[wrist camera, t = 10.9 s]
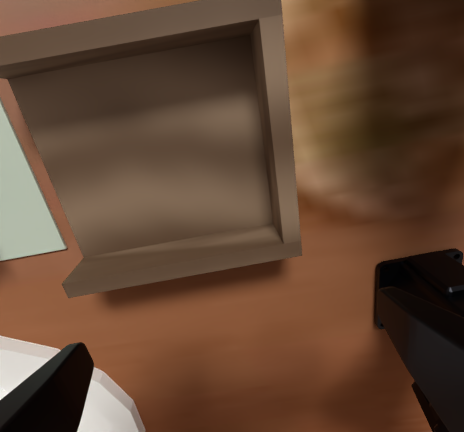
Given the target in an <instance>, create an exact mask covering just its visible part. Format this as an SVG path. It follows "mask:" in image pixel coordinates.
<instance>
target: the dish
mask: <svg viewBox="0 0 464 432" xmlns="http://www.w3.org/2000/svg"><path fill="white" fill-rule="evenodd" d="M60 351H61V350H59V349H57V348H53V347H48V346H44V345H39V344H35V343H30V342H26V341H21V340H17V339H12V338H7V337H3V336H0V400H1V399H2V398H3V397H5V396H6V395H7V394H8V393H9V392H11V391H12V390H13V389H14V388H16V387H17V386H18V385H19V384H20V383H22V382H23V381H24V380H25V379H27V378H28V377H29V376H30V375H32V374H33V373H34V372H35V371H36V370H38V369H39V368H40V367H41V366H43V365H44V364H45V363H46V362H47V361H49V360H50V359H51V358H52V357H54V356H55V355H56V354H57V353H58V352H60ZM77 432H145V427H144V425H143V423H142V420H141V418H140V415H139V413H138V410H137V408H136V405H135V403H134V400H133V399H132V398H131V397H129V396H128V395H127V394H126V393H125V392H124V391H123V390H122V389H121V388H120V387H119V386H118V385H117V384H116V383H115V382H114V381H113V380H112V379H111V378H110V377H109V376H108V375H107V374H106V373H105V372H103V371H101V370H99V369H97V368H95V367H94V370H93V374H92V378H91V382H90V386H89V390H88V394H87V398H86V402H85V406H84V410H83V414H82V417H81V421H80V424H79V428H78V431H77Z"/></svg>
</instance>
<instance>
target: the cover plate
mask: <svg viewBox="0 0 464 432" xmlns="http://www.w3.org/2000/svg"><path fill="white" fill-rule="evenodd" d="M66 248H67V246H66V244H65V241H64V239H63V237H62V235H61V232H60V230H59V228H58V226H57V223H56V221H55V219H54V217H53V214H52V212H51V210H50V208H49V205H48V203H47V201H46V199H45V197H44V194H43V192H42V190H41V188H40V185H39V183H38V181H37V179H36V176H35V174H34V172H33V170H32V167H31V165H30V163H29V161H28V159H27V156H26V154H25V152H24V150H23V147H22V145H21V143H20V141H19V138H18V136H17V134H16V132H15V129H14V127H13V125H12V123H11V120H10V118H9V116H8V114H7V112H6V109H5V107H4V105H3V103H2V100H1V98H0V261H2V260H8V259H13V258H19V257H24V256H29V255H35V254H40V253H46V252H51V251H57V250H62V249H66Z"/></svg>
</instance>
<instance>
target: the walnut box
mask: <svg viewBox="0 0 464 432" xmlns="http://www.w3.org/2000/svg"><path fill="white" fill-rule="evenodd" d="M0 78H3V79H8V81H9V84H10V86H11V88H12V91H13V93H14V95H15V98H16V100H17V102H18V105H19V107H20V110H21V112H22V114H23V117H24V119H25V121H26V124H27V126H28V128H29V131H30V133H31V135H32V138H33V140H34V142H35V145H36V147H37V149H38V152H39V154H40V156H41V159H42V161H43V163H44V166H45V168H46V170H47V173H48V175H49V177H50V180H51V182H52V184H53V187H54V189H55V191H56V194H57V196H58V198H59V201H60V203H61V205H62V208H63V210H64V212H65V215H66V217H67V219H68V222H69V224H70V226H71V229H72V231H73V233H74V236H75V238H76V240H77V243H78V245H79V247H80V250H81V252H82V254H83V257H84V258H83V259H82V260H81V262H80V263H79V264H78V265H77V266H76V268H75V269H74V270H73V271H72V272H71V274H70V275H69V276H68V277H67V278H66V280H65V281H64V282H63V283H62V286H63V288H64V290H65V292H66V294H67V296H68V298H71V297H77V296H82V295H88V294H93V293H99V292H104V291H110V290H115V289H121V288H126V287H132V286H137V285H143V284H148V283H154V282H159V281H165V280H170V279H176V278H181V277H187V276H192V275H198V274H203V273H209V272H215V271H220V270H226V269H231V268H237V267H242V266H248V265H253V264H259V263H264V262H270V261H275V260H281V259H286V258H292V257H297V256H302V248H301V236H300V224H299V212H298V200H297V188H296V176H295V163H294V151H293V139H292V127H291V115H290V103H289V91H288V78H287V66H286V54H285V42H284V30H283V18H282V5H281V0H200V1H194V2H189V3H183V4H178V5H172V6H167V7H161V8H156V9H150V10H145V11H139V12H134V13H128V14H123V15H117V16H112V17H106V18H101V19H95V20H90V21H84V22H79V23H73V24H68V25H62V26H57V27H51V28H45V29H40V30H34V31H29V32H23V33H18V34H12V35H7V36H1V37H0Z"/></svg>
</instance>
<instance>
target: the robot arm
mask: <svg viewBox="0 0 464 432" xmlns="http://www.w3.org/2000/svg"><path fill="white" fill-rule="evenodd" d="M454 255H455V256H454ZM462 259H463V253H462V252H461V251H459V250H458V249H449V250H443V251H436V252H430V253H425V254H419V255H414V256H409V257H405V258H399V259H394V260H388V261H383V262H381V263H379V264H378V266H377V278H376V306H375V324H376V325H377V327H378V328H379V329H385V330H386V331H387V333H388V335H389V337H390V339H391V341H392V342H393V344H394V346H395V348H396V350H397V352H398V353H399V355H400V357H401V359H402V361H403V363H404V364H405V366H406V368H407V369H408V371H409V372H410V374H411V376H412V377H413V379H414V380H415V382H414V383H413V384H412V388H413V390H414V392H415V394H416V397H417V399H418V401H419V403H420V405H421V408H422V410H423V412H424V414H425V416H426V418H427V421H428V423H429V425H430V427H431V429H432V431H433V432H464V266H463V265H462ZM385 267H386V268H385ZM384 268H385V269H384ZM93 370H94V363H93V360H92V358H91V356H90V354H89V352H88V350H87V348H86V346H85V344H84V343H81V342H79V343H74V344H69V345H67V346H66V347H65V348H63V349H62V350H61V351H60V352H58V353H57V354H56V355H55V356H54V357H52V358H51V359H50V360H49V361H47V362H46V363H45V364H44V365H43V366H41V367H40V368H39V369H38V370H36V371H35V372H34V373H33V374H32V375H30V376H29V377H28V378H27V379H25V380H24V381H23V382H22V383H20V384H19V385H18V386H17V387H16V388H14V389H13V390H12V391H11V392H9V393H8V394H7V395H6V396H5V397H3V398H2V399H1V400H0V432H77V431H78V428H79V424H80V421H81V417H82V414H83V410H84V406H85V402H86V398H87V394H88V390H89V386H90V382H91V378H92V374H93Z"/></svg>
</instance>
